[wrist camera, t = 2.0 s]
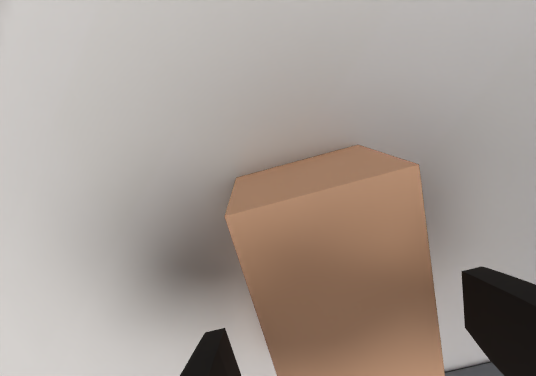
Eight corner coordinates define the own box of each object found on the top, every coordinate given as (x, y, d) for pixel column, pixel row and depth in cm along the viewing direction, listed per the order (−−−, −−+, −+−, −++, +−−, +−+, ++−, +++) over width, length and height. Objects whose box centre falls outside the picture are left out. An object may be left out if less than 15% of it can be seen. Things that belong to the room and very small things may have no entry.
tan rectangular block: (356, 144, 11) (419, 164, 7) (388, 323, 14) (450, 423, 9) (236, 176, 11) (224, 216, 7) (289, 348, 14) (304, 457, 9)
